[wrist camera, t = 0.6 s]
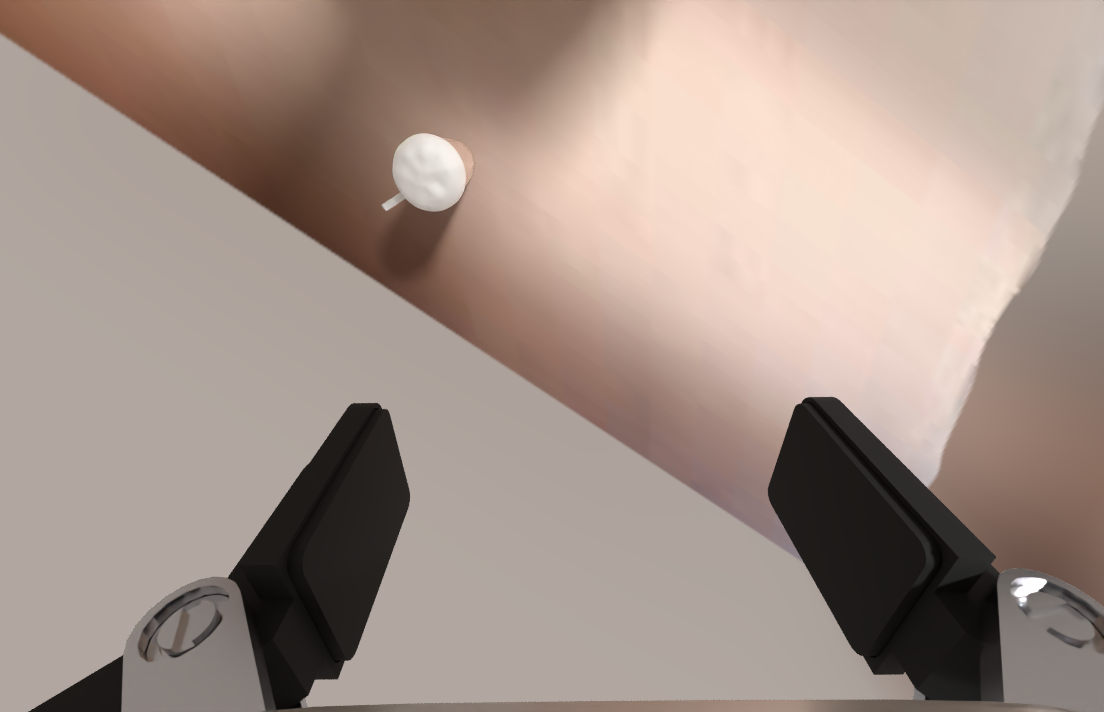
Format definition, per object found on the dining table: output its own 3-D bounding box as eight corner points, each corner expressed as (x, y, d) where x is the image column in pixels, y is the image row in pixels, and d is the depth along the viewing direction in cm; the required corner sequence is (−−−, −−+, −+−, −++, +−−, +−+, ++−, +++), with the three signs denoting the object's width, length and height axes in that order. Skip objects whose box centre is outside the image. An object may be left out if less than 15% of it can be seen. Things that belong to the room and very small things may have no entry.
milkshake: (405, 159, 34) (355, 174, 25) (458, 117, 32) (424, 117, 24) (443, 209, 36) (408, 239, 27) (494, 171, 34) (475, 189, 25)
